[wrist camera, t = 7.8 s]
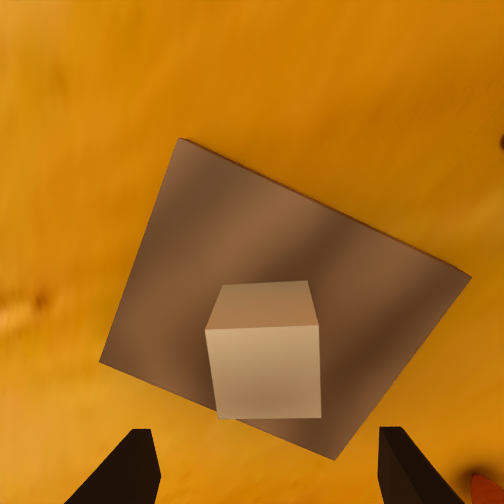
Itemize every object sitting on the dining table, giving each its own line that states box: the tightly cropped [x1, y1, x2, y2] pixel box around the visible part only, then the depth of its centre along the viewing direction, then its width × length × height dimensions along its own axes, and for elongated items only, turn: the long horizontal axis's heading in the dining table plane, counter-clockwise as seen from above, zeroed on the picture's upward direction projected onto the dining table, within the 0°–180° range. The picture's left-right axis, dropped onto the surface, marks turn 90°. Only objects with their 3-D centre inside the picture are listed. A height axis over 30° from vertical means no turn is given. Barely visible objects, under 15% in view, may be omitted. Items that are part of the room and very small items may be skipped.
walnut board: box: [99, 138, 472, 461], centre depth 18 cm, size 16×14×2 cm
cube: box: [205, 280, 321, 419], centre depth 15 cm, size 4×4×4 cm
